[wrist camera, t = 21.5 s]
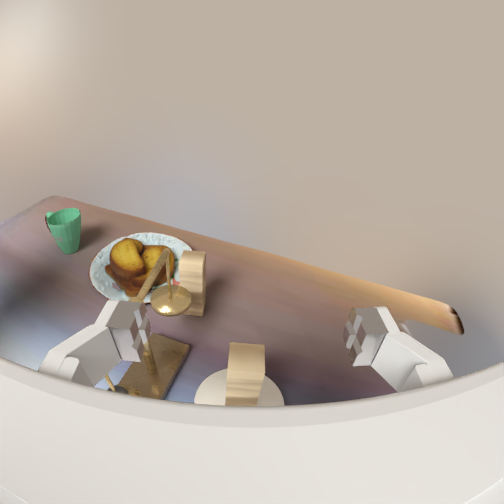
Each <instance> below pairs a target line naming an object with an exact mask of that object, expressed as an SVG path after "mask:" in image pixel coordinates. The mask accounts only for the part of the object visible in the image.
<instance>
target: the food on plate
mask: <svg viewBox="0 0 504 504" xmlns="http://www.w3.org/2000/svg"><path fill="white" fill-rule="evenodd" d="M165 248H168V249H169V250H170V254H169V267H170V280H171V285H179V286H180V278H179V261H180V258H181V255H182V253H183V250H190V251H193V250H192V249H191V247H190V246H189V245H187V244H186V243H185V242H184V241H182V240H180V239H177V238H176V237H174V236H170V235H166V234H160V233H153V232H150V233H144V232H140V233H138V234H131V235H130V236H126V237H121V238H119V239H117V240H115V241H113V242H112V243H110V244H108V245H106V246H105V247H104V248H103V249H102V250H100V251H99V252H98V253H97V255H96V256H95V258H94V259H93V260H92V263H91V265H90V269H89V278H90V280H91V282H92V285H94V286H93V287H95V289H97V291H98V292H99V293H100V294H103V295H104V296H106V298H107V299H113V300H120V301H121V300H123V301H128V300H129V299H130V298H132V297H137V295H138V293H139V291H140V290H141V288H142V286H143V284H144V282H145V281H146V279H147V277H148V275H149V274H150V272H151V270H152V269H153V267H154V265H155V263H156V262H157V260H158V258H159V257H160V255H161V253H162V252H163V250H164V249H165ZM112 282H113V283H115V284H117V285H118V286H119V288H120V289H121V291H120V292H119V291H118V290H116V288H112V284H113V283H112ZM164 285H168V284H167V273H166V261H165V263H164V265H163V266H162V268H161V270H160V272H159V273H158V275H157V277H156V279H155V281H154V282H153V284H152V286H151V288H152V289H154V290H155V289H157V288H159V287H161V286H164ZM151 288H150V289H151ZM151 295H152V293H149V294H148V293H147V295H146V297H145V299H144V303H150V302H151V301H150V297H151Z"/></svg>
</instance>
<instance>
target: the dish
mask: <svg viewBox="0 0 504 504" xmlns="http://www.w3.org/2000/svg"><path fill="white" fill-rule="evenodd" d="M227 371H228V369H224V370H221V371H218V372H216V373H213V374H212V375H210V376H209V377H207V378H206V379H205V380H204V381H203V382H202V383H201V385H200V386H199V388H198V390H197V392H196V395H195V400H194V403H195V404H208V405H225V399H226V385H227ZM256 406H284V399H283V396H282V394H281V392H280V390H279V388H278V387H277V385H276V384H275V383H274V382H273V381H272V380H271V379H269V378H268V377H267V376H265V375H264V379H263V383H262V386H261V390H260V394H259V397H258V401H257V404H256Z"/></svg>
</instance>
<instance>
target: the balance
mask: <svg viewBox="0 0 504 504" xmlns="http://www.w3.org/2000/svg"><path fill="white" fill-rule="evenodd" d="M169 254H170V250H169V249H168V248H165V249H164V250H163V252H162V253H161V255H160V257H159V258H158V260H157V262H156V263H155V265H154V267H153V269H152V270H151V272H150V274H149V275H148V277H147V279H146V281H145V282H144V284H143V286H142V288H141V290H140V291H139V293H138V295H137V297H132V298H130V299H129V300H128V301H132V302H141V303H144V299H145V297H146V295H147V293H148V291H149V290H150V288H151V286H152V284H153V282H154V281H155V279H156V277H157V275H158V273H159V272H160V270H161V268H162V266H163V265H164V263H165V261H166V273H167V284H168V285H164V286H161V287H159V288H157V289H156V290H155V291H154V292H153V293H152V295H151V297H150V301H151V306H152V308H153V310H154V311H155V312H156V313H158V314H160V315H163V316H177V315H180V314H183V313H184V312H186V311H187V310H188V309H189V308H190V306H191V294H190V292H189V291H188V290H187V289H186V288H184V287H182V286H179V285H171V280H170V267H169ZM144 304H145V303H144ZM144 348H145V351H144V354H143V357H142V360H141V362H135V361H133V363H132V364H131V366H130V367H129V369H128V370H127V372H126V373H125V375H124V376H123V378H122V379H121V381H120V382H119V384H118V385H115V386H114V385H113V384H112V382H111V380H110V378H109V376H108V374H107V375H106V376H105V379H106V380H107V382H108V384H109V386H110V388H109V389H108V391H112V392H117V393H123V394H128V395H134V396H139V397H146V398H152V399H159V400H164V398H165V396H166V394H167V392H168V390H169V389H170V387H171V385H172V383H173V381H174V379H175V377H176V376H177V374H178V372H179V370H180V368H181V366H182V365H183V363H184V361H185V359H186V357H187V355H188V354H189V352H190V345H187V344H184V343H181V342H178V341H175V340H173V339H170V338H167V337H164V336H161V335H159V334H156V333H152V335H151V336H150V338H149V339H148V342H146V343H145V344H144Z"/></svg>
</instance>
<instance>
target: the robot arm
mask: <svg viewBox="0 0 504 504" xmlns="http://www.w3.org/2000/svg"><path fill="white" fill-rule="evenodd" d="M146 311H147V310H146V306H145V304H144V303H141V302H132V301H123V300H121V301H120V300H113V299H110V300H108V301H107V303H106V305H105V306H104V308H103V310H102V311H101V313H100V315H99V317H98V319H97V320H96V322H95V324H94V325H89V326H88V327H86V328H85V329H83V330H81V331H80V332H78V333H76V334H75V335H73V336H72V337H70V338H68V339H67V340H65V341H63V342H62V343H60V344H59V345H57V346H55V347H54V348H52V349H51V350H49V352H48V353H47V355H46V357H45V359H44V360H43V362H42V364H41V366H40V368H39V369H38V371H35V370H32V369H30V368H27V367H24V366H21V365H19V364H16V363H14V362H11V361H9V360H6V359H4V358H1V357H0V504H504V361H503V362H501V363H498V364H496V365H494V366H491V367H488V368H485V369H483V370H480V371H477V372H474V373H471V374H468V375H465V376H462V377H458V378H455V379H454V377H453V375H452V373H451V371H450V369H449V368H448V366H447V364H446V362H445V360H444V359H443V358H442V357H440V356H439V355H437V354H436V353H434V352H432V351H431V350H430V349H428V348H427V347H425V346H424V345H422V344H421V343H419V342H418V341H416V340H415V339H413V338H412V337H410V336H409V335H407V334H406V333H404V332H400V330H399V329H398V327H397V325H396V323H395V321H394V320H393V318H392V316H391V314H390V313H389V311H388V309H387V308H386V307H385V306H384V307H374V308H352V309H351V311H350V313H349V319H350V321H349V322H348V323H346V325H345V328H344V342H345V346H346V347H347V348H349V349H350V351H349V354H348V355H349V357H350V360H351V363H352V366H365V365H371V366H372V367H373V368H374V369H375V370H376V371H377V372H378V373H379V374H380V375H381V376H382V377H383V378H384V379H385V380H386V381H387V382H388V383H389V384H390V385H391V386H392V387H393V388H394V389H395V390H396V391H397V392H398V393H393V394H388V395H383V396H377V397H371V398H364V399H357V400H349V401H341V402H332V403H321V404H308V405H290V406H226V405H208V404H195V403H185V402H175V401H167V400H159V399H152V398H146V397H139V396H134V395H128V394H123V393H117V392H112V391H108V390H103V389H99V388H95V387H94V386H95V385H96V384H97V383H98V382H99V381H100V380H101V379H102V378H104V377H105V376H106V375H107V374H108V373H109V372H110V371H111V370H112V369H113V368H114V367H115V366H117V365H118V364H119V363H120V362H121V361H122V360H127V361H135V362H141V360H142V357H143V354H144V351H145V348H144V344H145V343H146V342H148V339H149V335H150V323H149V319H148V318H147V317H146V316H145V314H146Z"/></svg>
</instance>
